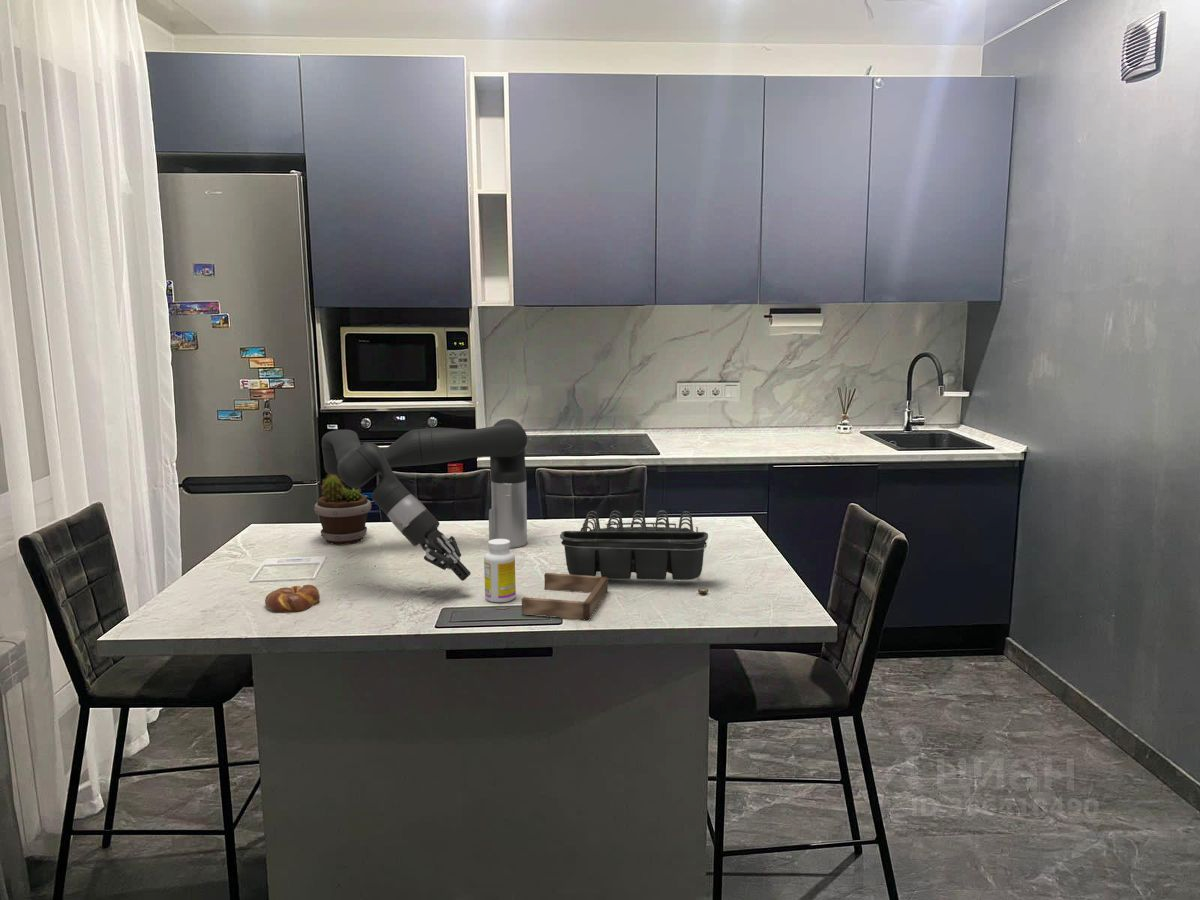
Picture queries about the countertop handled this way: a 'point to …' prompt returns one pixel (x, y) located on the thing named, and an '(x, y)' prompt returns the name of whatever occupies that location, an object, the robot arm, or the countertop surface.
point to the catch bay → (565, 607)
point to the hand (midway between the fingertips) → (466, 577)
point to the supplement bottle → (499, 571)
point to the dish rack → (635, 549)
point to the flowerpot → (342, 513)
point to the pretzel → (292, 598)
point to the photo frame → (289, 563)
